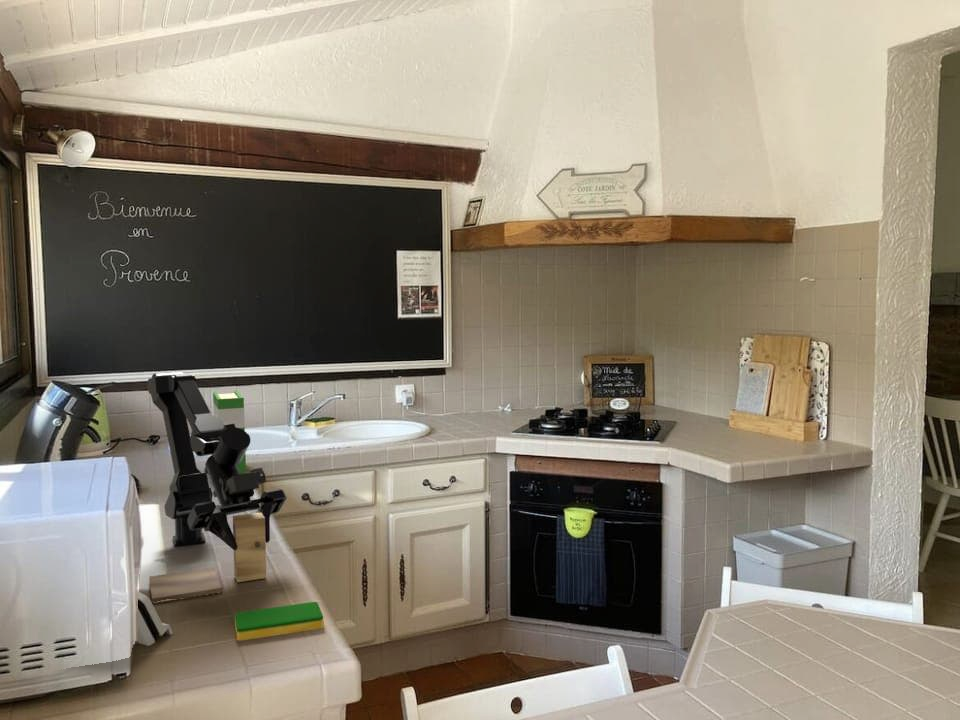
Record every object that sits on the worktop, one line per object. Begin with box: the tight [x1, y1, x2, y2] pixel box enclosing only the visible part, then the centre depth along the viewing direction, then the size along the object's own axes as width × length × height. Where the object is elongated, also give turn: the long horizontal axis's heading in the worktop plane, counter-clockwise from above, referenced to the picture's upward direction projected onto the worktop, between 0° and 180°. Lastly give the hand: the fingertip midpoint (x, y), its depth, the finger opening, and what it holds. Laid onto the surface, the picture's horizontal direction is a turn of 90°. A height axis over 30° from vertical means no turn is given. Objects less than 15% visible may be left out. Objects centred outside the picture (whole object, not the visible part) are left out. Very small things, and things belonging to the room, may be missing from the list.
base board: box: [149, 567, 223, 602], centre depth 150 cm, size 12×12×1 cm
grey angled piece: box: [137, 590, 174, 647], centre depth 130 cm, size 17×5×10 cm, turn 63°
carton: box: [212, 390, 247, 474], centre depth 243 cm, size 18×7×24 cm, turn 23°
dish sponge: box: [234, 601, 324, 642], centre depth 133 cm, size 7×14×2 cm, turn 110°
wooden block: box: [232, 512, 267, 583], centre depth 154 cm, size 4×6×12 cm
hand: (252, 545), depth 153 cm, fingers closed on wooden block, 6 cm apart
